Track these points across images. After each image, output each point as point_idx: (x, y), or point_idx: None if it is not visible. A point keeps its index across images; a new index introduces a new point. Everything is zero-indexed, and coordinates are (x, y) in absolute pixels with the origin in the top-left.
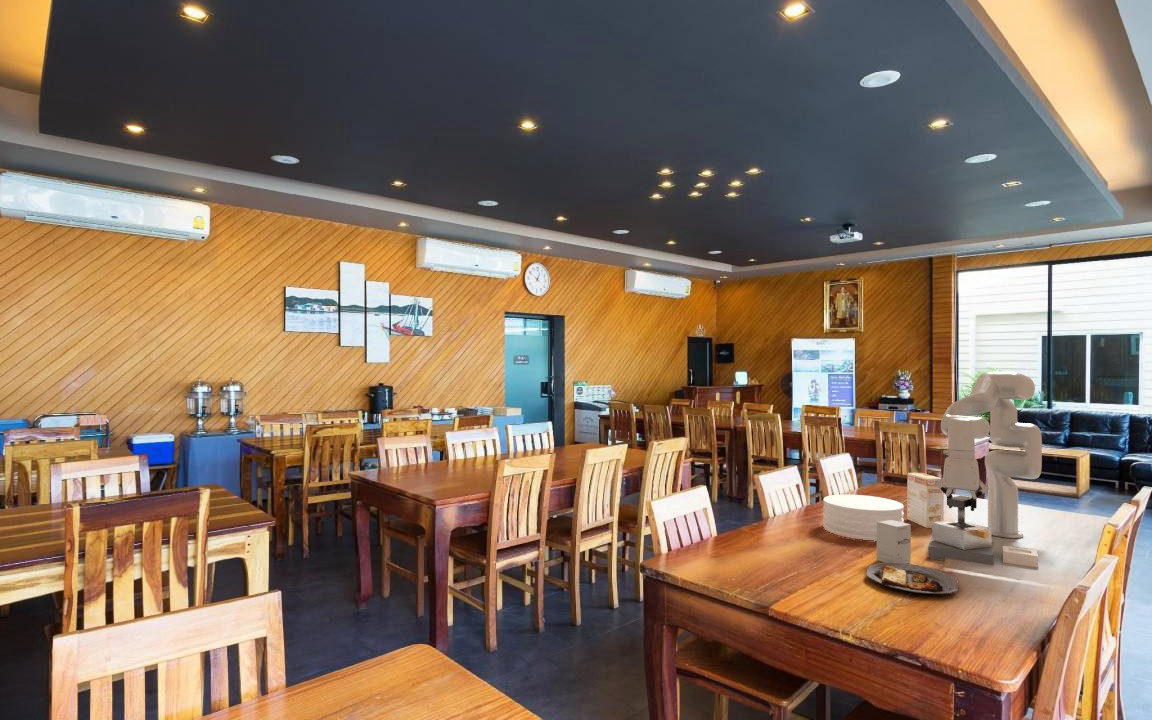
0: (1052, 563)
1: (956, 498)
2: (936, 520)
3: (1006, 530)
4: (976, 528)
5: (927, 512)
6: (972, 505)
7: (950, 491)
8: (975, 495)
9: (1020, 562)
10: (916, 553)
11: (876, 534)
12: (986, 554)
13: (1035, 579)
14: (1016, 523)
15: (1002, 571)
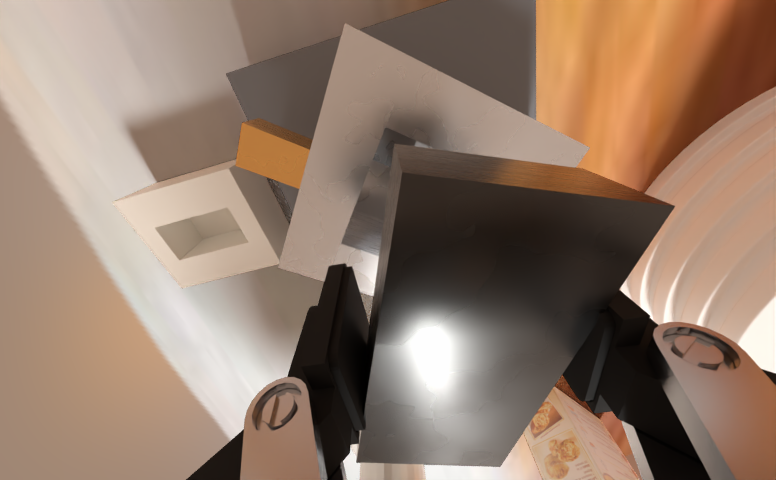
0: (194, 297)
1: (523, 312)
2: (537, 417)
3: None
4: (324, 196)
5: (575, 432)
6: (325, 297)
7: (711, 417)
8: (249, 446)
9: (192, 174)
10: (561, 43)
11: (770, 115)
12: (255, 64)
13: (69, 30)
14: (360, 474)
15: (207, 49)
